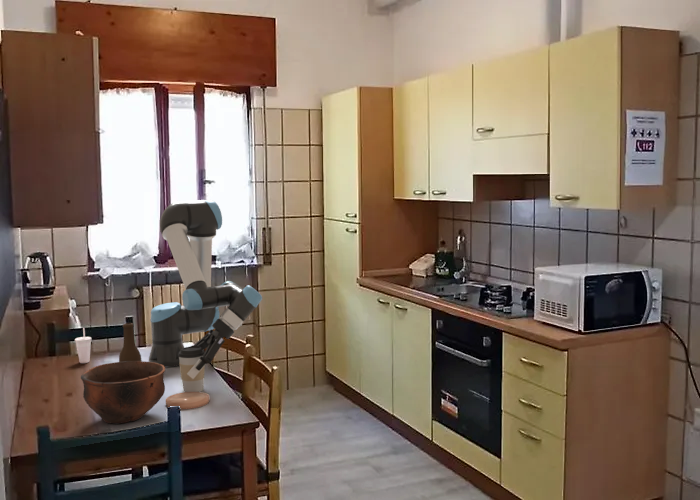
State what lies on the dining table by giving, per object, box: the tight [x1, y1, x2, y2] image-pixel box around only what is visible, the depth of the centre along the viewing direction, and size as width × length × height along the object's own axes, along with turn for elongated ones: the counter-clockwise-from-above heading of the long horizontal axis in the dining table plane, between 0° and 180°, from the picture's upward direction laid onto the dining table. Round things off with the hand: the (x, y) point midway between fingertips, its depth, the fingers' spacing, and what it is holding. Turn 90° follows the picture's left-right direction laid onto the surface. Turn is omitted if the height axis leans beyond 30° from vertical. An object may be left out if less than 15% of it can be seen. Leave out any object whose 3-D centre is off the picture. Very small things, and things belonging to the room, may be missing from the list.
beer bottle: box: [118, 322, 143, 362], centre depth 253 cm, size 8×8×24 cm
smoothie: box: [74, 327, 92, 364], centre depth 296 cm, size 6×6×14 cm
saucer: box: [165, 391, 211, 410], centre depth 241 cm, size 14×14×2 cm
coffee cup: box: [178, 344, 206, 392], centre depth 254 cm, size 9×9×15 cm
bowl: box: [80, 360, 166, 424], centre depth 226 cm, size 25×25×15 cm
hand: (186, 371), depth 253 cm, fingers open, 13 cm apart
